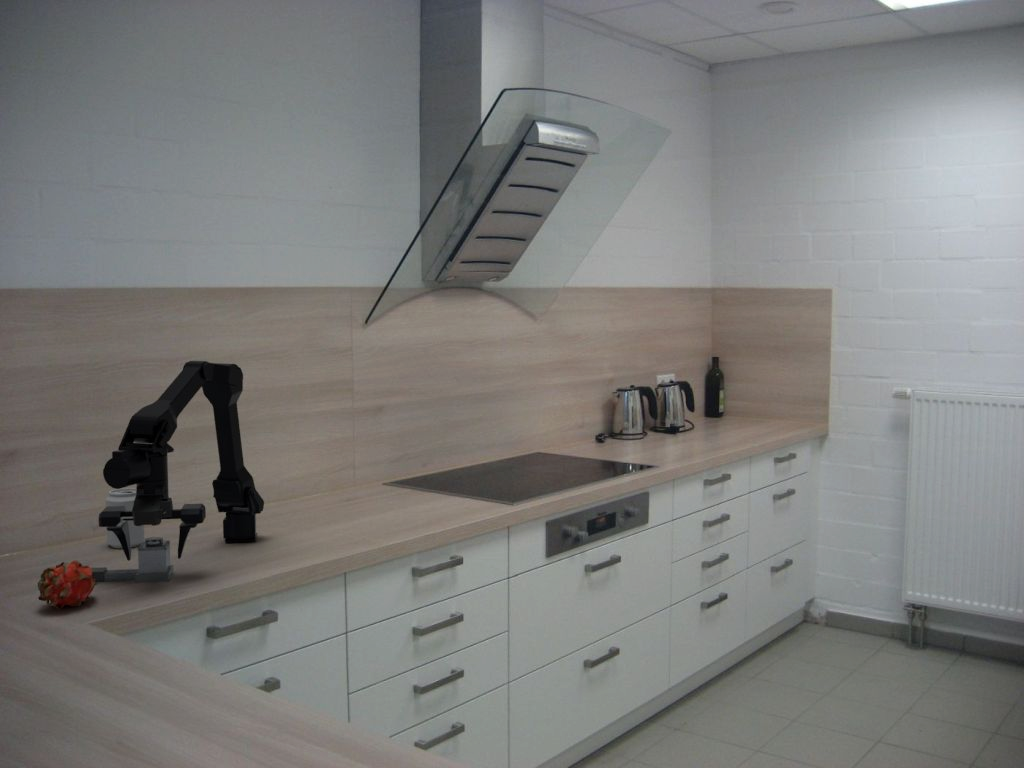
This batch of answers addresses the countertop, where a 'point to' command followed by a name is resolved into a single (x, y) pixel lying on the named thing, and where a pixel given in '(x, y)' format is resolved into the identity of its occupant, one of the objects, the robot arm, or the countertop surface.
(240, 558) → the countertop surface
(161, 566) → the dark grey block
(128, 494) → the can
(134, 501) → the robot arm
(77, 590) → the dragon fruit
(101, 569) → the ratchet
